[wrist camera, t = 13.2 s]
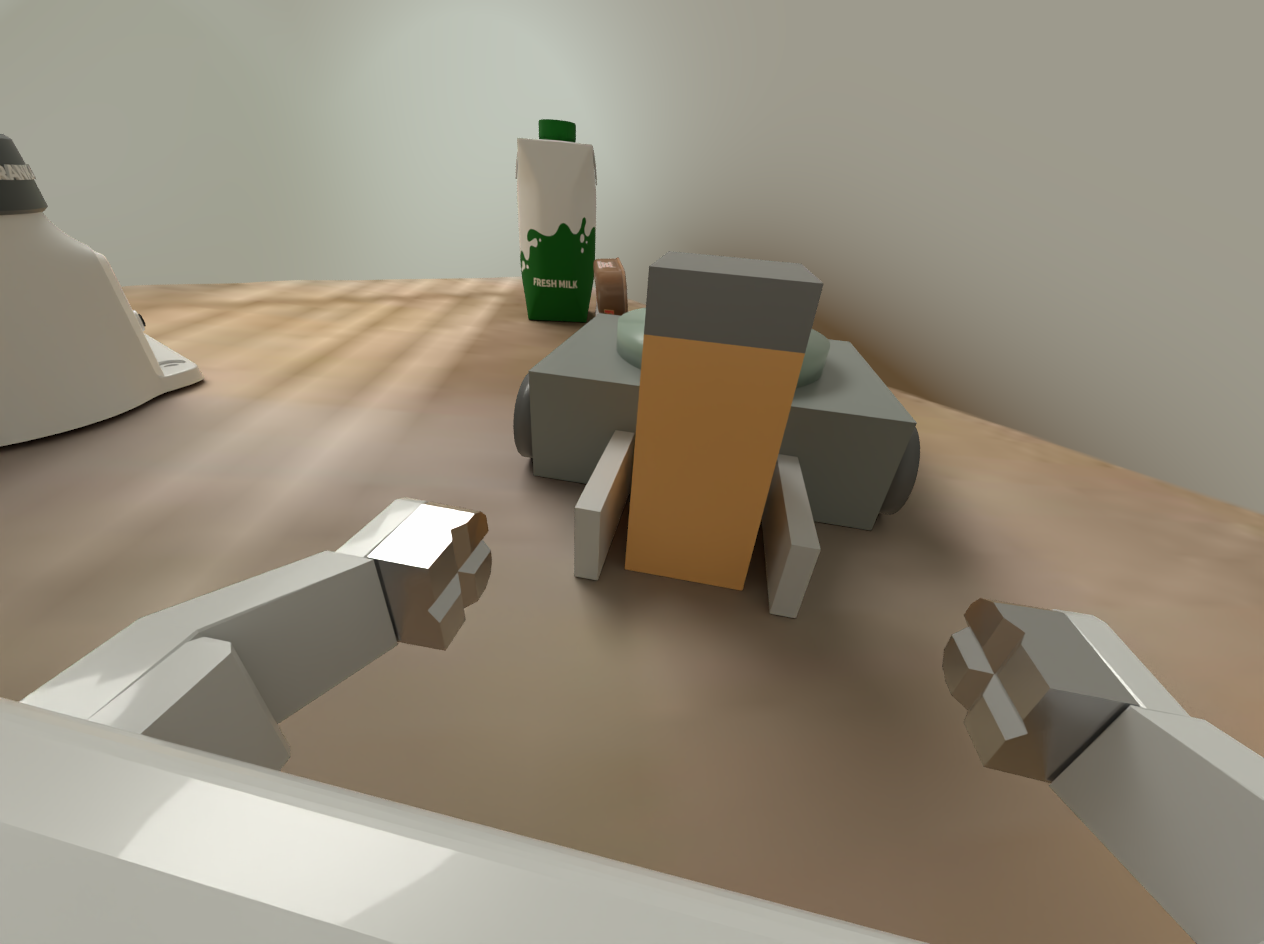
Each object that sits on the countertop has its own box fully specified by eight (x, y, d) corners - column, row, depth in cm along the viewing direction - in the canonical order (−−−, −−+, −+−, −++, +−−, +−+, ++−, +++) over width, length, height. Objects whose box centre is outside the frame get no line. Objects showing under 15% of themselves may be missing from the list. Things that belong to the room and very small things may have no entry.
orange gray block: (742, 590, 19) (823, 283, 13) (624, 569, 20) (649, 266, 14) (740, 520, 23) (801, 263, 17) (643, 504, 24) (669, 251, 18)
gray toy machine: (945, 646, 17) (1052, 477, 14) (451, 552, 20) (422, 387, 16) (838, 422, 35) (872, 321, 31) (585, 387, 38) (586, 290, 34)
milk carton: (592, 309, 63) (597, 128, 53) (593, 325, 56) (599, 118, 45) (527, 305, 62) (519, 121, 52) (519, 321, 55) (507, 109, 44)
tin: (628, 377, 41) (635, 275, 36) (592, 376, 40) (595, 272, 36) (618, 333, 54) (622, 253, 49) (590, 331, 53) (592, 251, 49)
